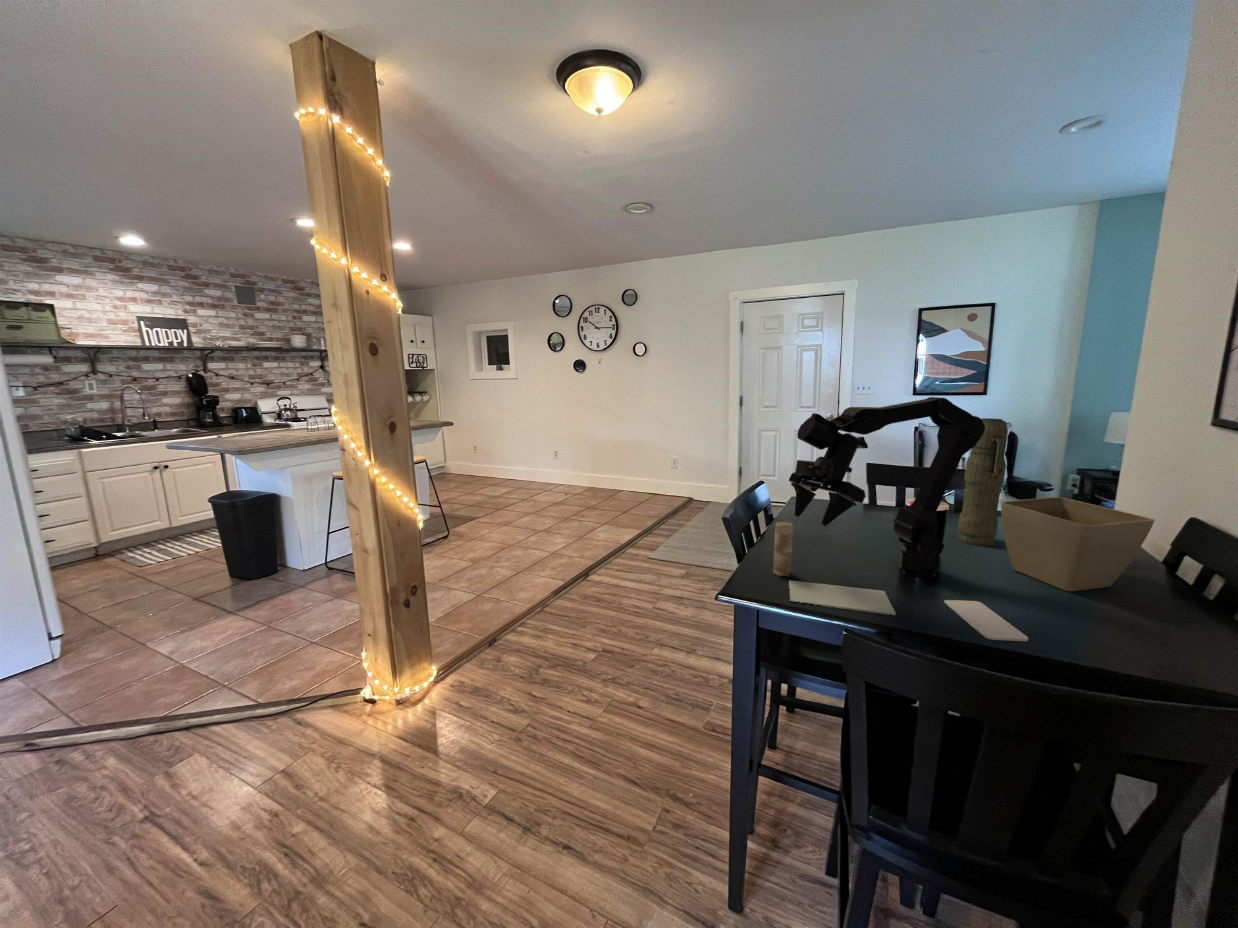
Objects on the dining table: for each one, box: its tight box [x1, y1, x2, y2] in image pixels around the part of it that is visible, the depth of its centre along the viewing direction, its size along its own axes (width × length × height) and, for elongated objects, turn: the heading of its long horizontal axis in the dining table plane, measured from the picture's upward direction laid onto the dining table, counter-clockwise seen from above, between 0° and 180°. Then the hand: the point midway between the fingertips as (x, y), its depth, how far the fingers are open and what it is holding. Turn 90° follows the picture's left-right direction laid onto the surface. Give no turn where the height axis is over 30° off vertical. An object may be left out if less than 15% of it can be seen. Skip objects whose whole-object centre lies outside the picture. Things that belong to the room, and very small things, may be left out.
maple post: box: [772, 521, 794, 577], centre depth 115 cm, size 4×4×12 cm
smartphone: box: [943, 599, 1029, 642], centre depth 94 cm, size 7×1×15 cm
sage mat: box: [788, 580, 897, 616], centre depth 104 cm, size 20×10×1 cm, turn 73°
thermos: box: [956, 417, 1009, 547], centre depth 134 cm, size 9×12×35 cm
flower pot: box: [1000, 496, 1156, 592], centre depth 110 cm, size 19×19×17 cm
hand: (809, 520), depth 109 cm, fingers open, 9 cm apart
